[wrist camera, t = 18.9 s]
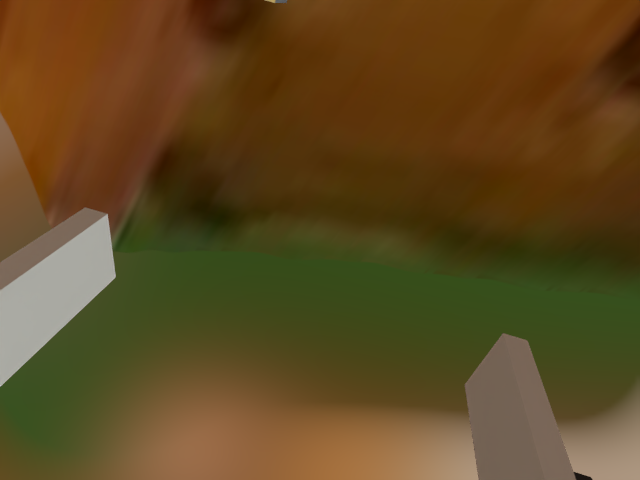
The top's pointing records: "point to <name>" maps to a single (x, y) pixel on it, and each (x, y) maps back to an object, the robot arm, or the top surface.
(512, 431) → the robot arm
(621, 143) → the top surface
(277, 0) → the dock
